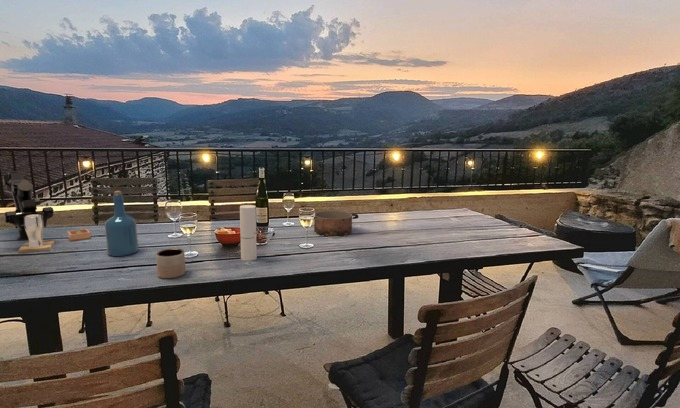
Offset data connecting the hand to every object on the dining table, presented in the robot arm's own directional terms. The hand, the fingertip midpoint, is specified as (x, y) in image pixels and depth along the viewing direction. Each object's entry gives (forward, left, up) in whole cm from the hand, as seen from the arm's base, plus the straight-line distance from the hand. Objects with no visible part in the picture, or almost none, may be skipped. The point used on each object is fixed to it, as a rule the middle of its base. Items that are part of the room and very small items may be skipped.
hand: (33, 228), depth 190 cm
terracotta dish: (-12, +16, -10) cm, 23 cm away
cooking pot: (+26, +148, -10) cm, 151 cm away
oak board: (-1, 0, -10) cm, 10 cm away
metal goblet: (0, 0, -9) cm, 9 cm away
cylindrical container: (+54, +91, -10) cm, 106 cm away
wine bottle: (+23, +38, -10) cm, 46 cm away
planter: (+61, +57, -10) cm, 84 cm away
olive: (-12, +16, -8) cm, 22 cm away
